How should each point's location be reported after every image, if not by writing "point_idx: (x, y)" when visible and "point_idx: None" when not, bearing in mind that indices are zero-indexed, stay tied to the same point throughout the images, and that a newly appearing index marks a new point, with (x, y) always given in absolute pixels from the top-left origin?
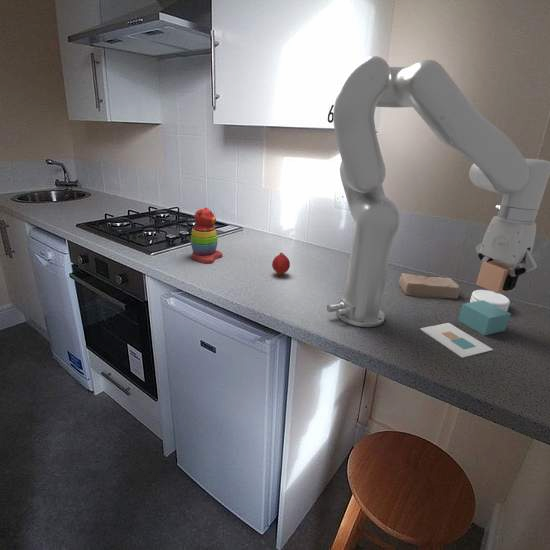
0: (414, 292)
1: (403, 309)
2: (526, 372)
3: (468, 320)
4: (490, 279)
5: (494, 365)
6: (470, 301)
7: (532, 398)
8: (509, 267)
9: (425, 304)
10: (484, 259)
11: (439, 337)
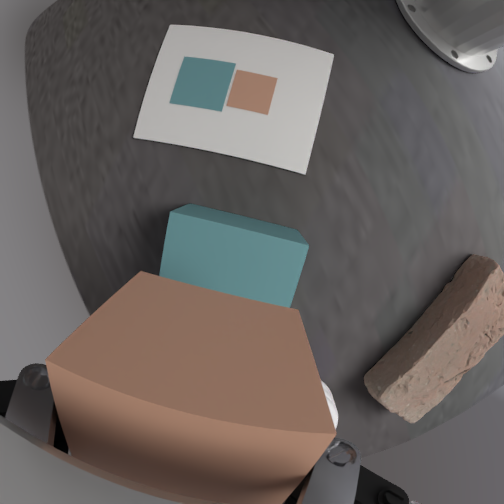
0: (464, 273)
1: (435, 142)
2: (56, 122)
3: (258, 223)
4: (196, 324)
5: (106, 72)
6: (327, 387)
7: (38, 53)
8: (47, 427)
9: (417, 246)
10: (337, 483)
11: (265, 52)
